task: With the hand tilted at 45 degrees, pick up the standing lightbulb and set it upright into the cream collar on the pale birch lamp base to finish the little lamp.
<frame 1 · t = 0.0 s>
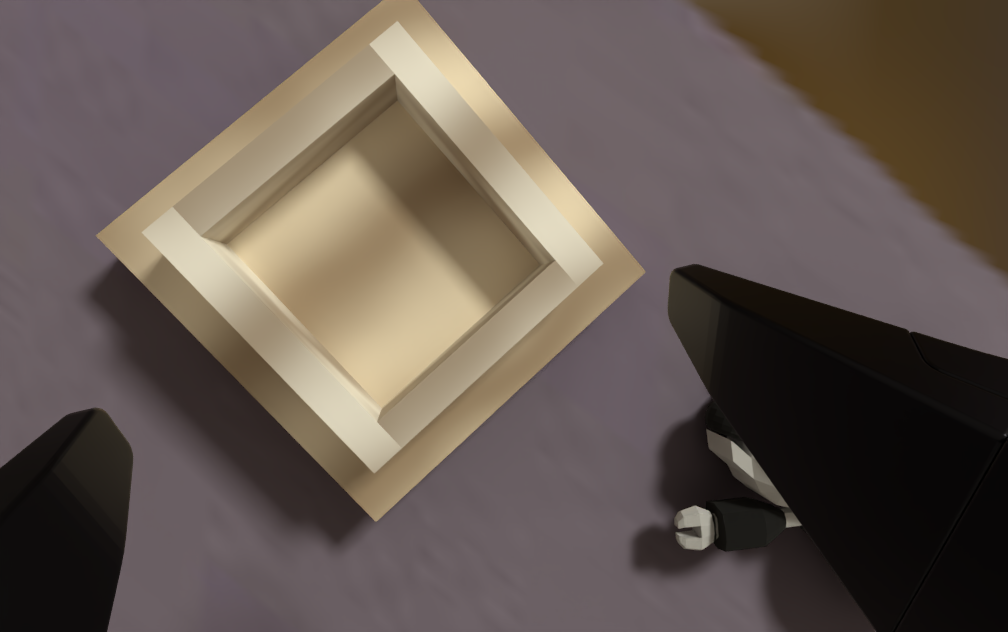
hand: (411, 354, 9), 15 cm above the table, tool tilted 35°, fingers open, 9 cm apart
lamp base: (392, 259, 24), on the table
robot toy: (825, 453, 27), on the table
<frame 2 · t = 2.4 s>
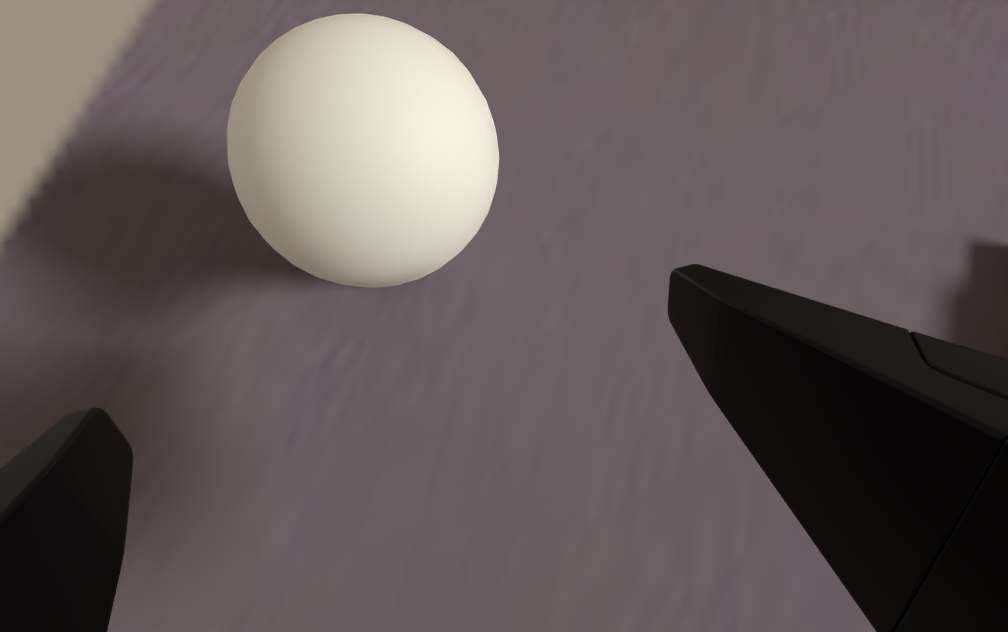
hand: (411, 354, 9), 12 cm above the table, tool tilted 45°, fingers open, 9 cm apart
lightbulb: (399, 257, 22), on the table
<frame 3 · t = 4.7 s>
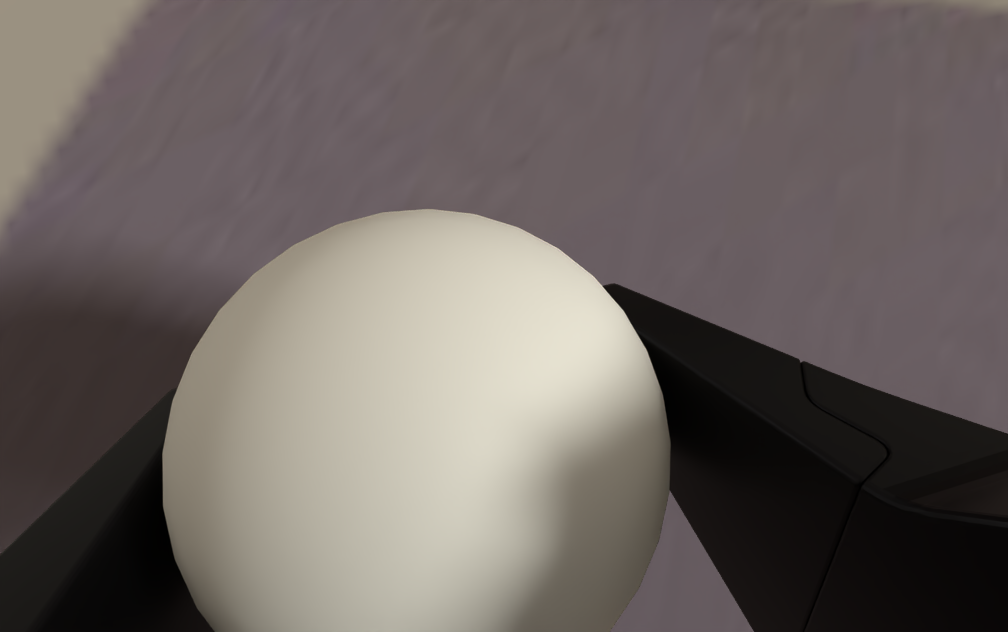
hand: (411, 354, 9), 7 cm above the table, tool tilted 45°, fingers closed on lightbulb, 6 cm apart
lightbulb: (438, 433, 16), on the table, touching gripper
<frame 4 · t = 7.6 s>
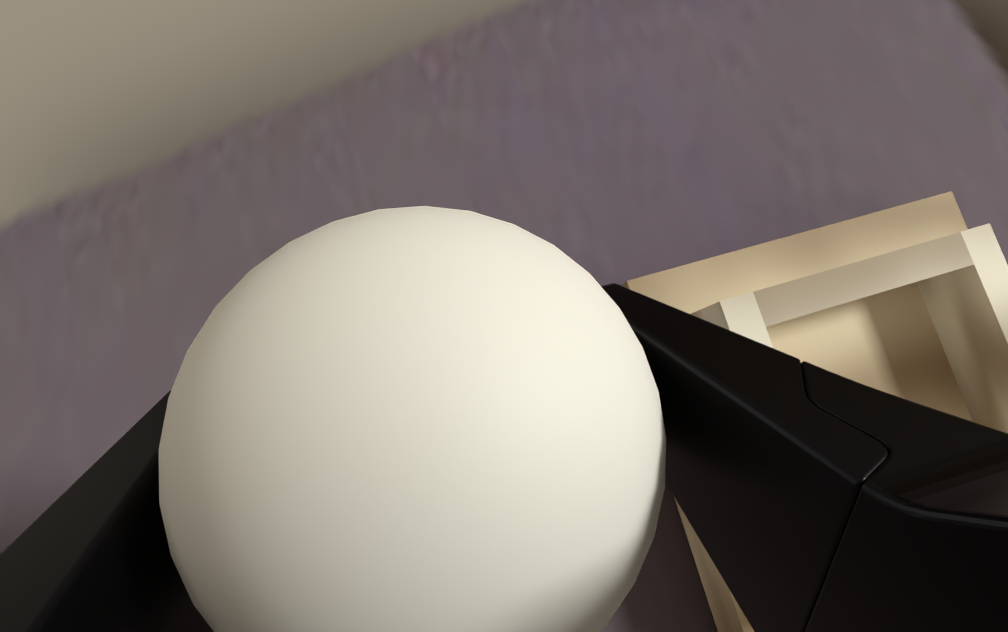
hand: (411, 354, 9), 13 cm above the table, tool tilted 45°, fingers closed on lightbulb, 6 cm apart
lightbulb: (437, 431, 16), point 6 cm above the table, touching gripper
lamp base: (820, 413, 24), on the table
when the fingers open (10 cm above the table, at t = 10.3 s): lightbulb drops 1 cm, resting on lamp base.
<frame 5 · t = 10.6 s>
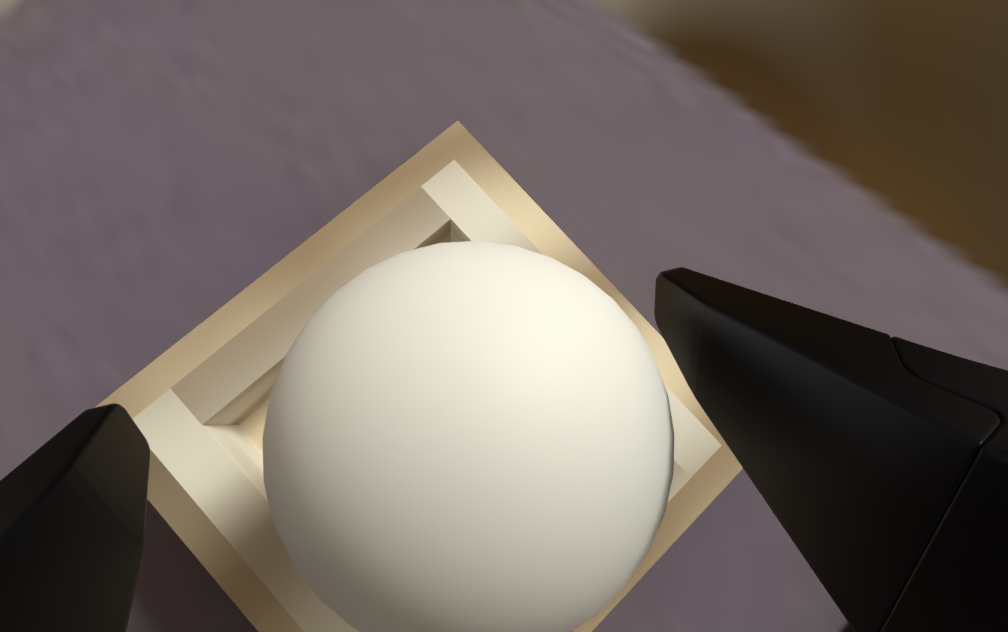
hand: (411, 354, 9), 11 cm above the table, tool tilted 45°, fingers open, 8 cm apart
lightbulb: (451, 434, 17), point 2 cm above the table, touching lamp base
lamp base: (440, 431, 19), on the table
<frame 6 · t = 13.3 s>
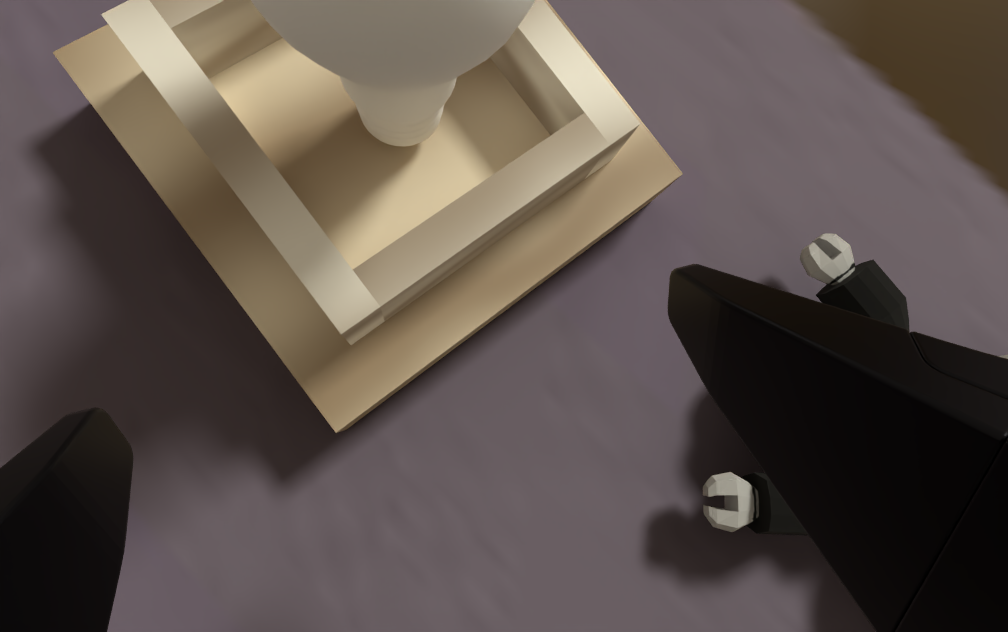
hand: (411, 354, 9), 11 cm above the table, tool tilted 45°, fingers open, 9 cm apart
lightbulb: (401, 123, 19), point 2 cm above the table, touching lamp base
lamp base: (392, 151, 21), on the table
robot toy: (884, 457, 22), on the table
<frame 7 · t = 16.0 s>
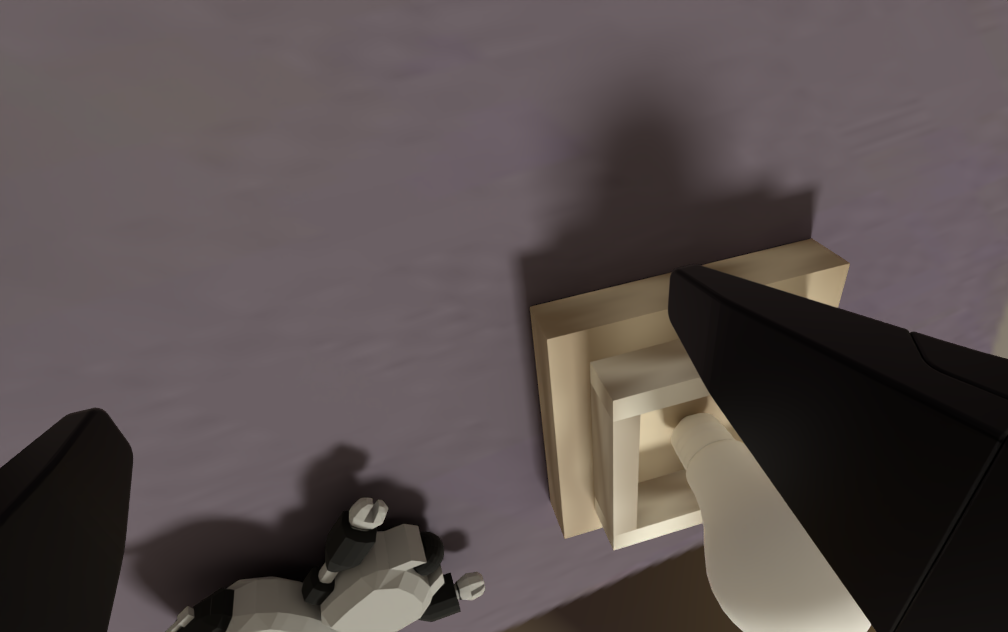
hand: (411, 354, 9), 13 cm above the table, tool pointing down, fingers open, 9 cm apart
lightbulb: (684, 418, 29), point 2 cm above the table, touching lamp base
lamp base: (667, 383, 31), on the table
robot toy: (325, 574, 33), on the table
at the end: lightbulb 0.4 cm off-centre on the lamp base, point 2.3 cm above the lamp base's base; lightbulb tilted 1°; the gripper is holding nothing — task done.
